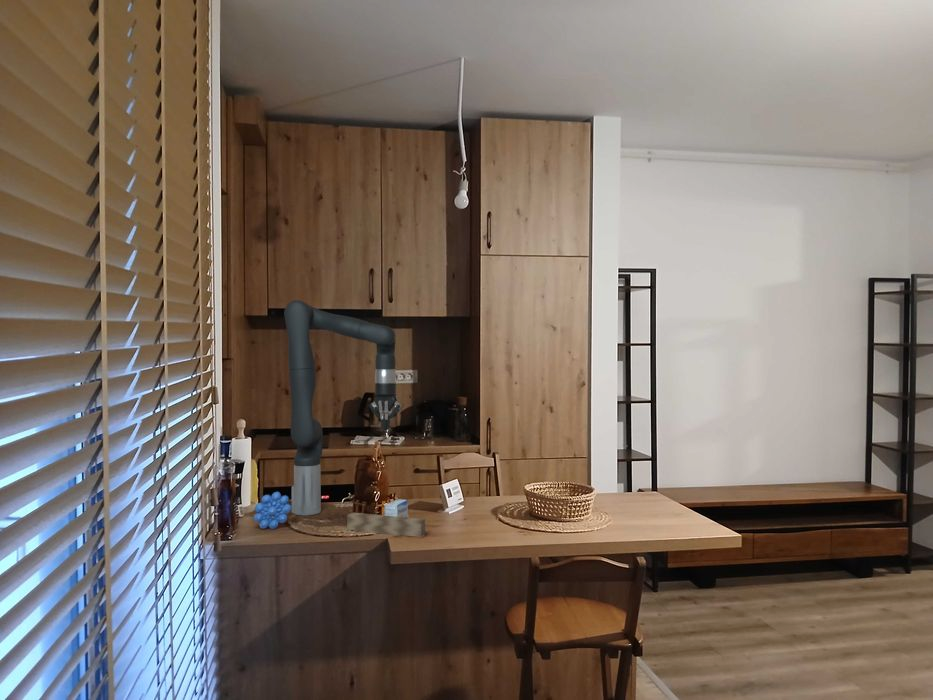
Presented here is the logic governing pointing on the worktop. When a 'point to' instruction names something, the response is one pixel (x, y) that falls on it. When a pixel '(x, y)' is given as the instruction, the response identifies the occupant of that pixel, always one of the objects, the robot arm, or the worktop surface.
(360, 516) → the mottled grey bar
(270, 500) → the blue bumpy cluster
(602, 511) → the worktop surface
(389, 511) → the medicine box
